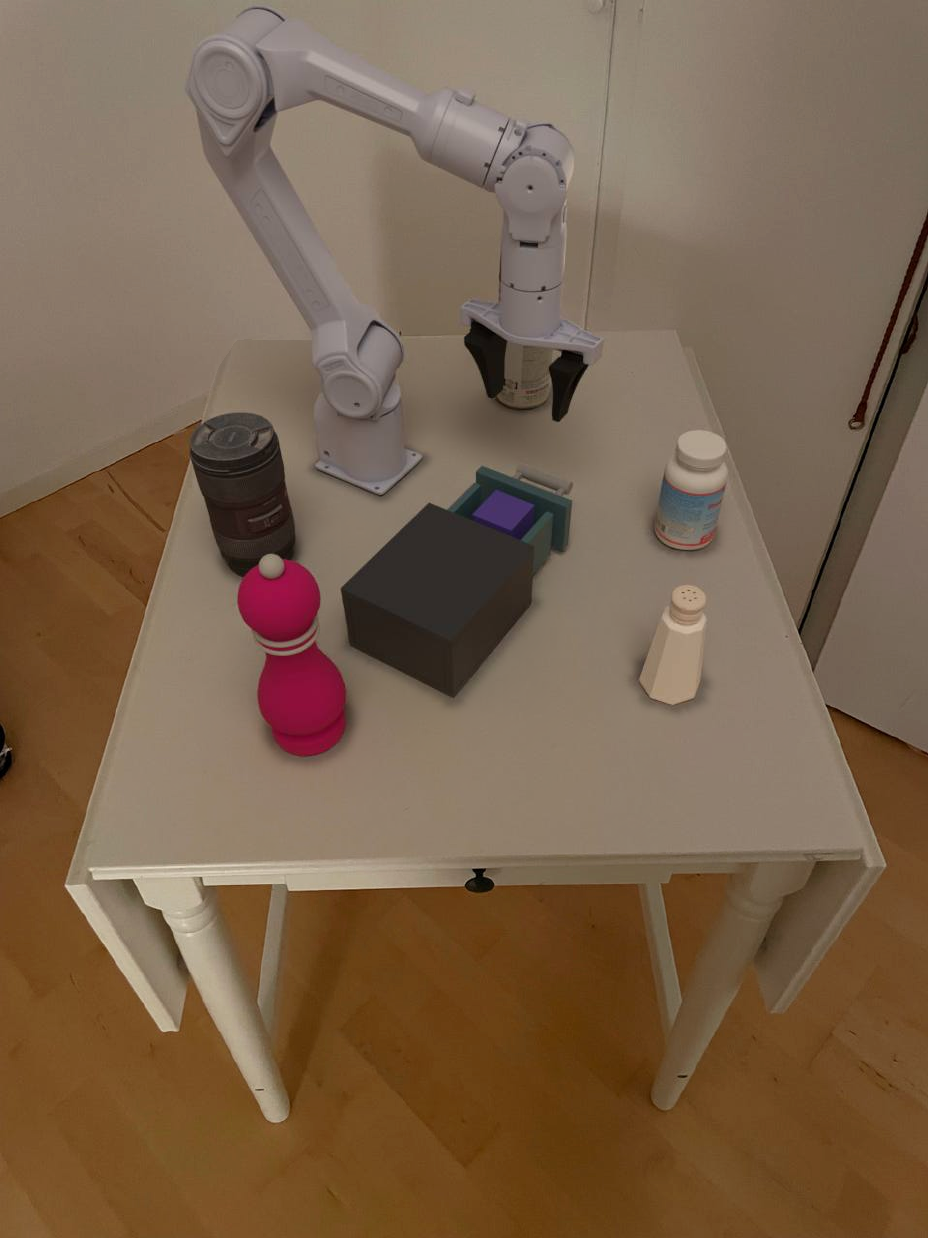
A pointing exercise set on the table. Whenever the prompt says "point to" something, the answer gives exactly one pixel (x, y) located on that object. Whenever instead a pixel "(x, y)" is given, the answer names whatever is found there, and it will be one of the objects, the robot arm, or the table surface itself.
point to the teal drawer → (548, 506)
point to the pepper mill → (292, 657)
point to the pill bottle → (692, 491)
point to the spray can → (525, 374)
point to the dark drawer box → (439, 597)
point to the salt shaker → (677, 648)
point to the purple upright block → (506, 514)
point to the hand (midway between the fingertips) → (527, 404)
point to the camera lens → (244, 488)
